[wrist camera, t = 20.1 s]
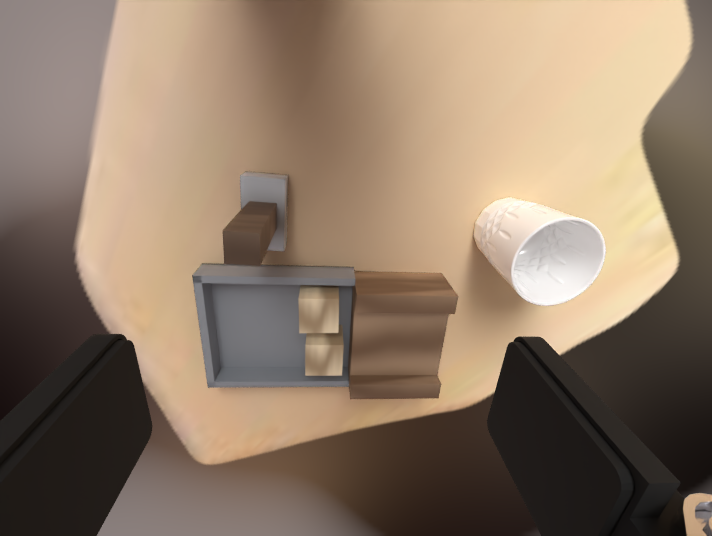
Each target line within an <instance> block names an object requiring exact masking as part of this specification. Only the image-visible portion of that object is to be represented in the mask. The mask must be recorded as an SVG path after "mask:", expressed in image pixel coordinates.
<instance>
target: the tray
mask: <svg viewBox="0 0 712 536" xmlns="http://www.w3.org/2000/svg"><path fill="white" fill-rule="evenodd" d="M192 277H193V284H194V291H195V298H196V305H197V312H198V320H199V327H200V334H201V341H202V348H203V355H204V363H205V370H206V377H207V384H208V388H209V387H349V375H348V357H349V341H350V324H351V307H352V290H353V286H355V273H354V267H327V266H285V265H260V266H252V265H235V264H202V265H201V266H200V267H199V268H198V269H197V270H196V272H195V273H194V274H193V275H192ZM301 285H334V286H338V288H339V325H342V328H343V343H344V348H343V366H342V376H305V345H306V335H307V333H299V301H298V299H299V292H300V286H301Z"/></svg>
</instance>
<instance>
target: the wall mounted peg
mask: <svg viewBox="0 0 712 536" xmlns="http://www.w3.org/2000/svg"><path fill="white" fill-rule="evenodd" d="M240 189H241V211H240V212H239V213H238V214H237V215H236V216H235V217H234V219H233V220H232V221H231V222H230V223H229V224H228V225H227V226H226V228H225V229H224V230H223V245H224V264H235V265H252V266H260V265H261V263H262V260H263V258H264V256H265V254H266V251H267V250H271V251H284V250H285V247H286V244H287V207H288V175H283V174H271V173H260V172H248V171H246V172H244V173H243V174H241V175H240Z"/></svg>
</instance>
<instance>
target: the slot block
mask: <svg viewBox="0 0 712 536" xmlns="http://www.w3.org/2000/svg"><path fill="white" fill-rule="evenodd" d="M354 273H355V286H353V290H352V307H351V324H350V341H349V357H348V375H349V391H350V399H406V398H439V393H440V387H441V383H440V380H439V378H438V376H437V374H438V369H439V363H440V358H441V352H442V347H443V342H444V336H445V331H446V326H447V320H448V315H449V314H455V310H456V305H457V300H458V296H457V294H456V293H455V291H454V290H453V288H452V287H451V286H450V284H449V283H448V281H447V280H446V279H445V277H444V276H443V274H442V273H407V272H363V271H354Z"/></svg>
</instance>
